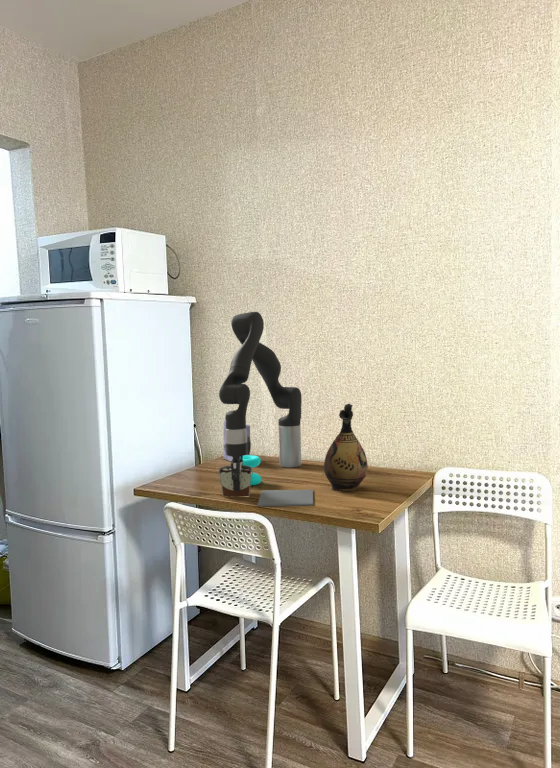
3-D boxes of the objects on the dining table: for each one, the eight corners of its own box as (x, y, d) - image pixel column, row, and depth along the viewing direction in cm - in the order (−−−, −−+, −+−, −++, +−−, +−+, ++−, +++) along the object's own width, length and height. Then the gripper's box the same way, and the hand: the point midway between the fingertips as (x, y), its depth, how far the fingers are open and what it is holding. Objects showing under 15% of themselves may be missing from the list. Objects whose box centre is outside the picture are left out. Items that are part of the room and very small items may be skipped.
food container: (257, 492, 214) (256, 464, 213) (253, 497, 207) (252, 468, 207) (223, 492, 216) (222, 464, 215) (218, 496, 210) (217, 468, 209)
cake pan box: (252, 465, 260) (251, 424, 258) (241, 466, 257) (240, 425, 256) (232, 458, 276) (231, 419, 275) (222, 459, 274) (221, 420, 272)
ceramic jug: (367, 494, 207) (365, 407, 205) (322, 493, 210) (320, 407, 207) (369, 482, 224) (367, 401, 221) (327, 481, 227) (325, 402, 224)
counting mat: (261, 492, 214) (261, 490, 214) (312, 491, 213) (312, 489, 213) (257, 506, 196) (257, 504, 196) (313, 505, 195) (313, 503, 195)
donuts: (238, 454, 233) (263, 454, 230) (239, 480, 233) (264, 480, 231) (230, 459, 223) (257, 460, 221) (231, 486, 224) (258, 487, 222)
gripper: (245, 444, 203) (246, 493, 204) (249, 437, 217) (250, 483, 218) (222, 445, 203) (224, 493, 204) (228, 438, 217) (229, 483, 219)
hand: (238, 488), depth 211 cm, fingers open, 7 cm apart
